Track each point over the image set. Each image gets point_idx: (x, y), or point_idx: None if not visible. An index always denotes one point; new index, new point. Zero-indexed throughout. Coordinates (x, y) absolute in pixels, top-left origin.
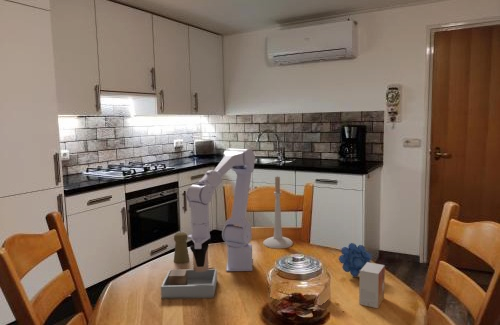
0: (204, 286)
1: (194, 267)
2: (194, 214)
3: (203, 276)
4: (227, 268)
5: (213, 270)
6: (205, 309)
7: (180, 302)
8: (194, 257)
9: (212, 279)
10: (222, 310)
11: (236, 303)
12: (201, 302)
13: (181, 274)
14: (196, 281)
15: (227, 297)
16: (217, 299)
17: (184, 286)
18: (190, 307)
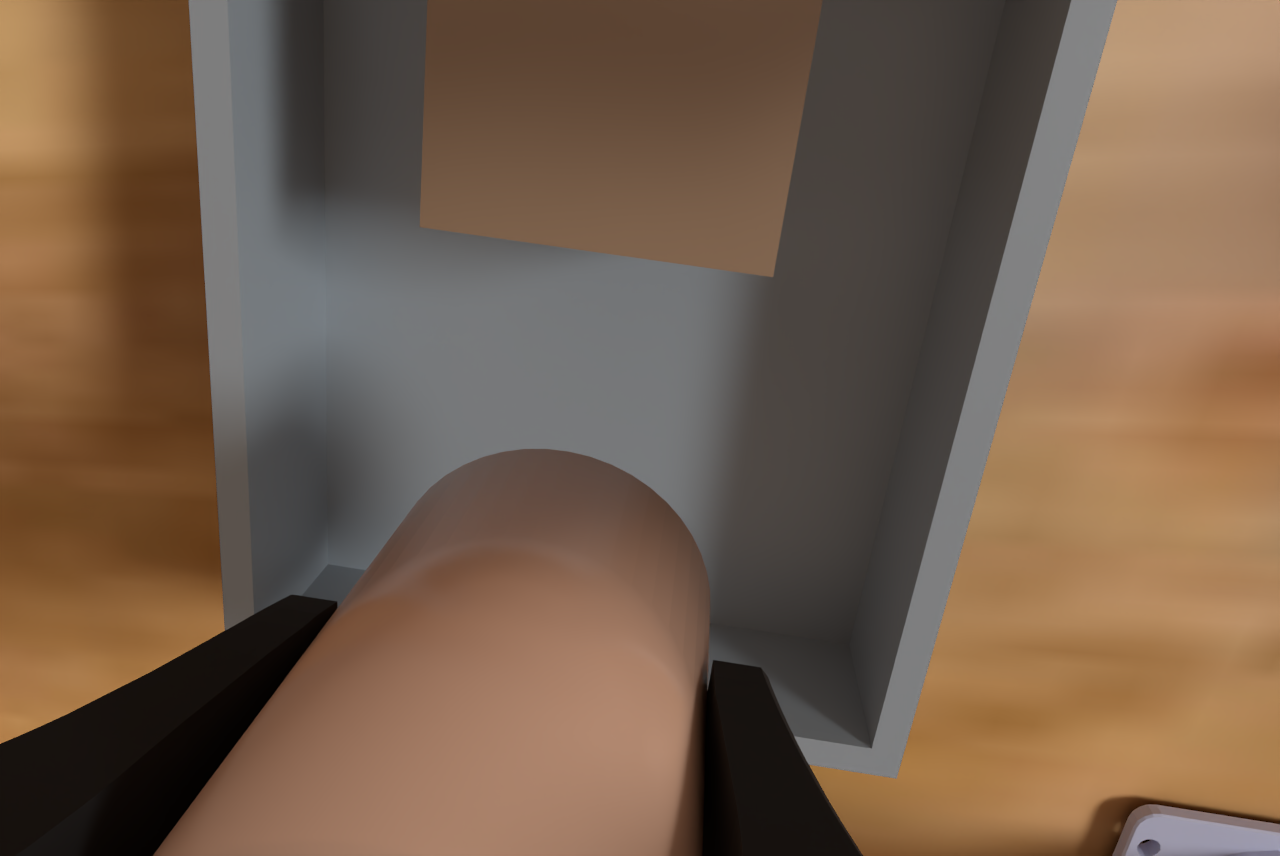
0: (226, 543)
1: (427, 506)
2: None
3: (898, 507)
4: (1206, 837)
5: (874, 717)
6: (22, 456)
7: (190, 123)
8: (308, 670)
9: (848, 608)
10: (19, 630)
11: None
12: (197, 417)
13: (500, 153)
14: (832, 374)
15: None
16: None
17: (207, 214)
18: (55, 273)
